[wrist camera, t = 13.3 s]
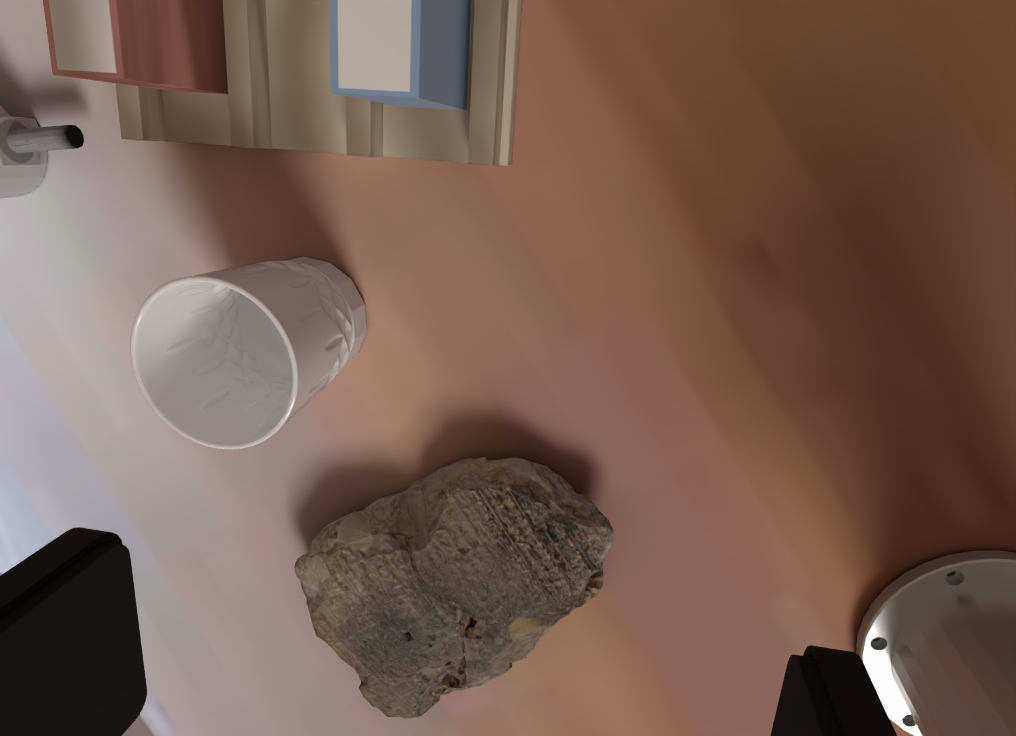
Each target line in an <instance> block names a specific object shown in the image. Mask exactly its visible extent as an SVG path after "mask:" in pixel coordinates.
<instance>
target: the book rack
mask: <svg viewBox="0 0 1016 736" xmlns="http://www.w3.org/2000/svg"><path fill="white" fill-rule="evenodd" d="M43 4H44V12H45V19H46V27H47V34H48V42H49V49H50V57H51V65H52V72H53V75H59V76H67V77H74V78H82V79H89V80H96V81H104V82H111V83H116V90H117V99H118V109H119V118H120V128H121V137H122V139H130V140H145V141H173V142H187V143H201V144H215V145H228V146H231V147H241V148H261V149H284V150H298V151H312V152H326V153H340V154H347V155H352V156H366V157H396V158H410V159H424V160H437V161H451V162H465V163H468V164H477V165H491V166H494V165H507V166H508V165H512V150H513V134H514V118H515V102H516V86H517V70H518V54H519V38H520V22H521V7H522V0H471V18H470V41H469V65H468V88H467V110H452V109H435V108H419V107H403V106H394V105H389V104H384V103H379V102H374V101H369V100H364V99H359V98H354V97H349V96H344V95H339V94H334V93H330V29H329V0H43Z"/></svg>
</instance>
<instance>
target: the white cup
mask: <svg viewBox="0 0 1016 736" xmlns="http://www.w3.org/2000/svg"><path fill="white" fill-rule="evenodd" d="M366 331H367V324H366V311H365V303H364V301H363V299H362V298H361V296H360V294H359V292H358V290H357V288H356V287H355V285H354V283H353V281H352V280H351V279H350V278H349V277H348V276H346V275H345V274H344V273H343V272H341V271H340V270H339V269H338V268H336V267H335V266H334V265H332V264H331V263H330V262H326V261H321V260H317V259H313V258H309V257H305V256H303V257H298V258H294V259H290V260H285V261H267V262H261V263H253V264H248V265H243V266H238V267H233V268H228V269H223V270H219V271H214V272H209V273H204V274H199V275H194V276H189V277H184V278H180V279H176V280H173V281H171V282H168V283H166V284H164V285H163V286H161V287H160V288H158V289H157V290H156V291H154V292H153V293H152V294H151V295H150V296H149V297H148V298H147V299H146V300H145V302H144V303H143V304H142V306H141V307H140V309H139V311H138V313H137V315H136V318H135V320H134V323H133V327H132V332H131V339H130V354H131V362H132V367H133V371H134V374H135V377H136V380H137V383H138V385H139V387H140V389H141V391H142V393H143V395H144V397H145V398H146V400H147V402H148V403H149V404H150V406H151V407H152V408H153V410H154V411H155V412H156V413H157V414H158V416H159V417H160V418H161V419H162V420H163V421H164V422H165V423H167V424H168V425H169V426H170V427H171V428H173V429H174V430H175V431H177V432H178V433H180V434H181V435H183V436H184V437H186V438H188V439H190V440H192V441H194V442H197V443H199V444H202V445H205V446H209V447H213V448H219V449H241V448H246V447H250V446H253V445H256V444H258V443H261V442H263V441H265V440H266V439H268V438H269V437H271V436H272V435H273V434H275V433H276V432H277V431H278V430H279V429H280V428H281V427H282V426H283V425H284V424H285V423H287V422H288V421H289V420H290V419H291V418H292V417H293V416H294V415H295V414H296V413H297V412H299V411H300V410H301V409H302V408H303V407H304V406H305V405H306V404H307V403H308V402H309V401H311V400H312V399H313V398H314V397H315V396H316V395H317V394H318V393H319V392H320V391H321V390H323V389H324V388H325V387H326V386H327V385H328V384H329V383H330V381H331V380H332V379H333V378H335V377H336V375H337V374H338V373H339V371H340V370H341V368H342V367H343V366H344V365H345V364H346V363H347V362H348V361H350V360H351V359H352V358H353V357H354V356H355V355H356V354H357V353H358V352H359V349H360V347H361V344H362V341H363V339H364V336H365V334H366Z"/></svg>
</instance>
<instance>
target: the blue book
mask: <svg viewBox="0 0 1016 736" xmlns="http://www.w3.org/2000/svg"><path fill="white" fill-rule="evenodd" d="M470 18H471V0H329V29H330V93H334V94H339V95H344V96H349V97H354V98H359V99H364V100H369V101H374V102H379V103H384V104H389V105H394V106H403V107H419V108H435V109H452V110H467V88H468V65H469V41H470Z"/></svg>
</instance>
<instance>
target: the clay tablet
mask: <svg viewBox="0 0 1016 736" xmlns="http://www.w3.org/2000/svg"><path fill="white" fill-rule="evenodd" d="M612 543H613V529H612V527H611V525H610V523H609V520H608V519H607V518H606V517H605V516H604V515H603V514H602V513H601V512H600V511H599V510H598V508H597V507H596V506H595V505H594V504H593V503H592V502H591V501H590V500H589V499H588V498H587V497H586V496H585V495H582V494H576V493H575V491H574V489H573V487H572V486H571V485H570V484H569V483H567V482H566V481H565V480H564V479H563V478H562V477H561V476H560V475H558V474H557V473H555V472H553V471H552V470H550V469H549V468H548V467H547V466H545V465H541V464H538V463H534V462H531V461H528V460H525V459H521V458H515V457H511V458H505V459H500V460H489V459H486V457H482V458H477V459H471V458H466V459H463V460H460V461H457V462H454V463H452V464H450V465H448V466H445V467H442V468H438V469H437V470H436V471H434V472H433V473H431V474H430V475H428V476H426V477H424V478H422V479H420V480H417V481H415V482H414V483H413V484H412V485H411V486H410V487H409V488H408V490H406V491H404V492H401V493H397V494H393V495H389V496H386V497H382V498H379V499H377V500H376V501H374V502H373V503H372V504H371V505H368V506H366V508H365V509H364V510H361V511H357V512H356V511H353V512H351V513H350V514H348V515H345V516H343V517H341V518H339V519H337V520H335V521H333V522H331V523H329V524H328V525H326V526H325V527H324V528H323V529H322V530H321V531H320V533H319V534H318V535H317V536H316V537H315V538H314V539H313V540H312V543H311V545H310V548H309V550H308V553H307V554H305V555H303V556H301V557H300V558H298V559H297V561H296V563H295V567H294V568H295V572H296V575H297V577H298V578H299V579H300V582H301V587H302V590H303V592H304V594H305V596H306V599H307V605H308V609H309V612H310V616H311V620H312V624H313V627H314V630H315V633H316V636H318V637H319V638H321V639H322V640H324V641H325V642H326V643H327V644H328V645H329V646H330V647H331V648H332V649H333V650H334V651H335V652H336V653H337V655H338V656H339V657H340V658H341V659H342V660H344V661H345V662H346V663H347V664H349V665H350V666H351V667H353V668H354V669H355V671H356V672H357V673H358V675H359V677H360V680H361V684H360V687H359V689H360V691H361V693H362V695H363V697H364V698H365V699H366V700H367V701H368V702H369V703H370V704H371V705H372V706H373V707H376V708H379V709H380V710H381V711H382V712H383V713H384V714H385V715H386V716H387V717H402V718H415V717H419V716H421V715H423V714H424V713H425V712H426V711H428V710H429V709H430V708H431V707H432V706H434V705H435V704H436V703H437V702H438V701H439V698H440V694H449V693H450V692H452V691H454V690H463V689H467V688H471V687H477V686H481V685H482V684H484V683H486V682H487V681H489V680H491V679H493V678H496V677H498V676H500V675H502V674H504V673H505V672H507V671H508V670H509V669H510V668H511V667H512V662H515V661H518V660H521V659H523V658H526V656H527V655H528V654H529V653H530V651H531V650H533V649H534V647H535V645H536V643H537V641H538V640H539V638H540V636H542V635H544V634H545V633H546V632H547V631H548V630H550V629H551V628H552V627H553V626H554V625H555V624H556V623H557V622H558V621H559V620H560V619H561V618H563V617H565V616H567V615H569V613H570V612H571V610H573V609H575V608H577V607H580V606H582V605H584V604H585V603H586V602H587V601H589V600H590V599H591V598H593V597H594V596H596V595H597V594H598V592H599V591H600V590H601V588H602V587H603V568H602V564H603V560H604V558H605V556H606V555H607V553H608V551H609V550H610V548H611V546H612Z"/></svg>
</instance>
